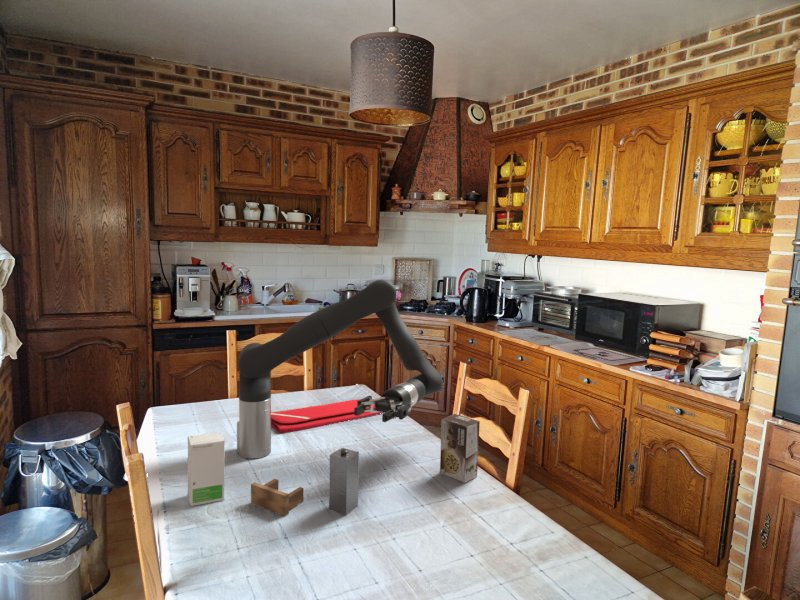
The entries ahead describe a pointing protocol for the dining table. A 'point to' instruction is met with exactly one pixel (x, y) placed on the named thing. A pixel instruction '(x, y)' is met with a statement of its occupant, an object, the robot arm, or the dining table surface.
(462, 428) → the coffee box
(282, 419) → the dish drying mat
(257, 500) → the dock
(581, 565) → the dining table surface
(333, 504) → the brushed steel pillar
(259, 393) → the robot arm
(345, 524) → the dining table surface
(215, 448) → the skincare box
